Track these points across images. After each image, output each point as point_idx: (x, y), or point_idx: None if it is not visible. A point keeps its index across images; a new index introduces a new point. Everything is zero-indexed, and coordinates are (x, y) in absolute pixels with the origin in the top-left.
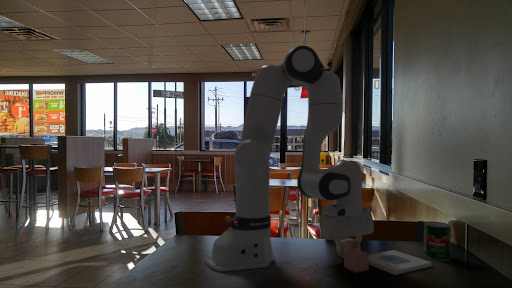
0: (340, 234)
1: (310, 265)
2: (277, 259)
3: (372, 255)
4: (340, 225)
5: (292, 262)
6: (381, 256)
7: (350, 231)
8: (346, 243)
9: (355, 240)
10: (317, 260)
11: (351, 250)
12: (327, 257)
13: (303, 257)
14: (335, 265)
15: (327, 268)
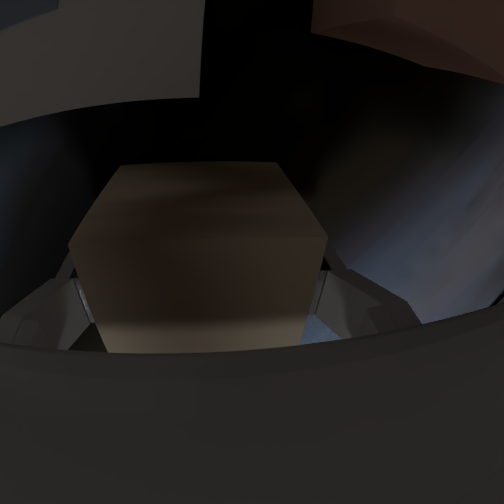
0: (462, 358)
1: (495, 204)
2: (485, 306)
3: (48, 82)
4: (501, 479)
5: (493, 265)
6: (5, 39)
7: (261, 439)
8: (318, 261)
9: (98, 313)
10: (432, 244)
11: (481, 37)
12: (355, 262)
13: (430, 301)
14: (439, 125)
15: (490, 125)
